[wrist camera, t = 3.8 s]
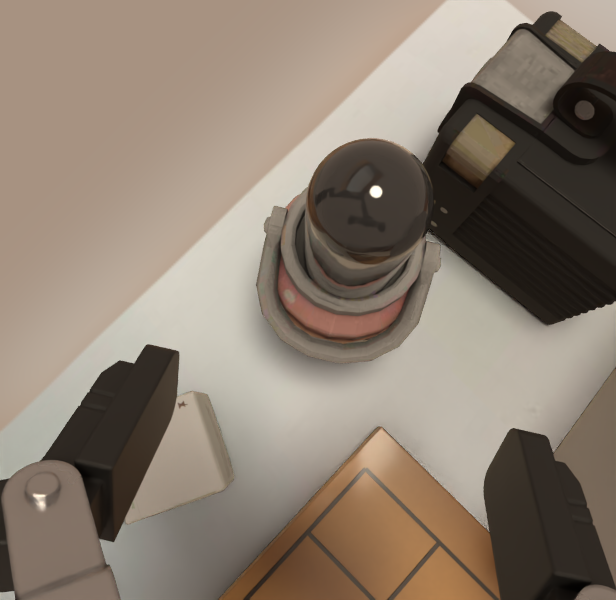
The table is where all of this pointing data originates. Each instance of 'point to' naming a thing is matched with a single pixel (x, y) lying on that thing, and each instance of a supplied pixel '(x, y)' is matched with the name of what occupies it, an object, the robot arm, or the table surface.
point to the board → (376, 539)
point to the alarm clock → (596, 463)
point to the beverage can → (334, 310)
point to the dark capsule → (364, 216)
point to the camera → (534, 171)
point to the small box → (184, 461)
